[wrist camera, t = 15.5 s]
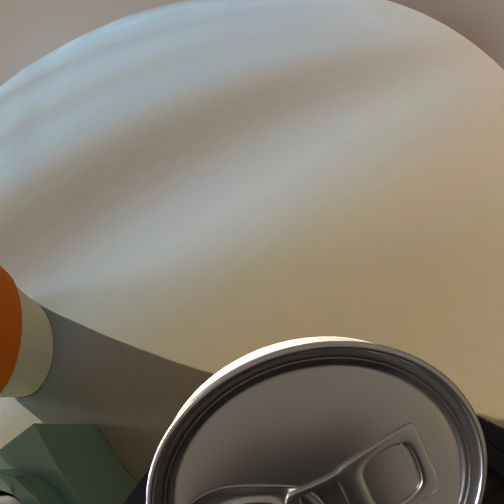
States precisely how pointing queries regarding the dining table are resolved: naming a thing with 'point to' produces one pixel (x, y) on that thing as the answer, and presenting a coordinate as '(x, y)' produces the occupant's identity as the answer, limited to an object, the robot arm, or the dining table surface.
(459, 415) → the can
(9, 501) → the white button cap
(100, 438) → the button housing
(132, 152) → the dining table surface
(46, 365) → the reusable coffee cup
